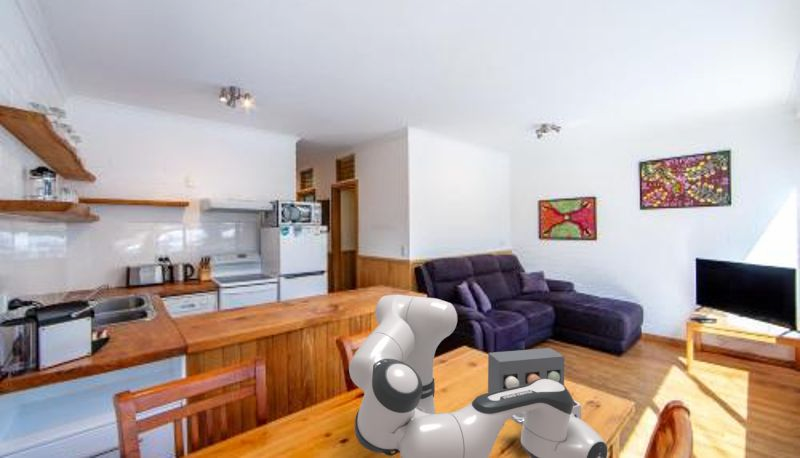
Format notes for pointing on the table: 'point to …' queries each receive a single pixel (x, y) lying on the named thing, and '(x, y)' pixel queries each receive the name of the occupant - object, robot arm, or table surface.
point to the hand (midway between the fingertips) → (524, 393)
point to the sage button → (553, 375)
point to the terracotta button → (532, 378)
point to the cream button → (511, 382)
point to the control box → (522, 366)
